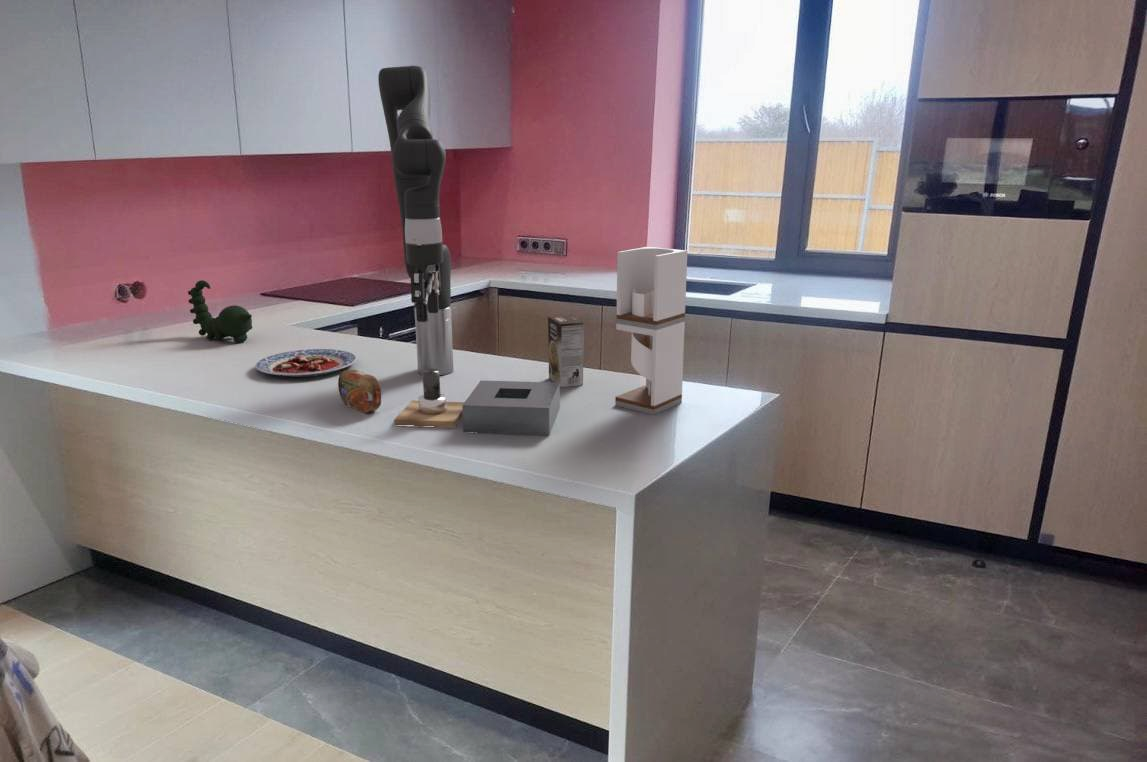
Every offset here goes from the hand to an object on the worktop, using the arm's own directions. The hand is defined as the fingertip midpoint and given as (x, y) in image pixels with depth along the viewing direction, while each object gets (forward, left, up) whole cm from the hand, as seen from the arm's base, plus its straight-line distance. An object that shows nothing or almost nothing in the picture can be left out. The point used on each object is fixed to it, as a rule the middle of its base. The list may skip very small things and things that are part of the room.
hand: (428, 317), depth 172 cm
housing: (0, +18, -22) cm, 29 cm away
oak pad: (0, 0, -22) cm, 22 cm away
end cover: (0, 0, -21) cm, 21 cm away
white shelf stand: (-14, +47, -23) cm, 54 cm away
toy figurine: (-64, -82, -23) cm, 106 cm away
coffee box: (-30, +26, -23) cm, 45 cm away
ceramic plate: (-36, -44, -23) cm, 61 cm away
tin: (-5, -18, -23) cm, 29 cm away
